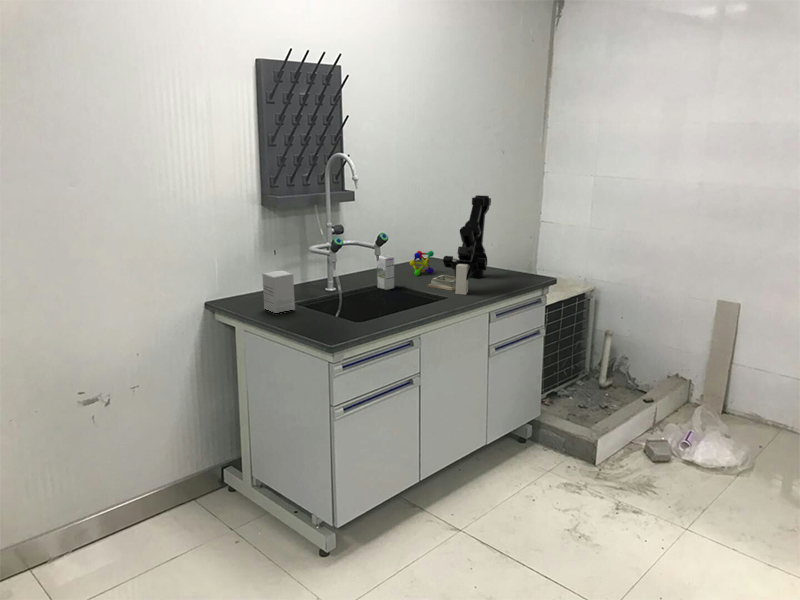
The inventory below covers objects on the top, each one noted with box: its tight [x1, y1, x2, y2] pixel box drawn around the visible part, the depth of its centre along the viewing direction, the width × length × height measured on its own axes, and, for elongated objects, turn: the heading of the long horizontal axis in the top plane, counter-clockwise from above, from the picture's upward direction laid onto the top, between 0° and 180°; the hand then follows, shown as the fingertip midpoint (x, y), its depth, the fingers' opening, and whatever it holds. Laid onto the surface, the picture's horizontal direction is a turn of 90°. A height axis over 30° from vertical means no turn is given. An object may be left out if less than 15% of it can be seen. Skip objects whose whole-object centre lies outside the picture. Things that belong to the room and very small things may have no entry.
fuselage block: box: [454, 264, 470, 296], centre depth 273 cm, size 4×4×12 cm
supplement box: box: [261, 269, 296, 314], centre depth 247 cm, size 9×9×15 cm
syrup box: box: [376, 254, 395, 291], centre depth 282 cm, size 6×6×14 cm
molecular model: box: [409, 250, 435, 277], centre depth 310 cm, size 11×7×12 cm, turn 125°
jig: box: [427, 274, 456, 291], centre depth 288 cm, size 12×12×4 cm
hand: (461, 279), depth 272 cm, fingers closed on fuselage block, 4 cm apart
